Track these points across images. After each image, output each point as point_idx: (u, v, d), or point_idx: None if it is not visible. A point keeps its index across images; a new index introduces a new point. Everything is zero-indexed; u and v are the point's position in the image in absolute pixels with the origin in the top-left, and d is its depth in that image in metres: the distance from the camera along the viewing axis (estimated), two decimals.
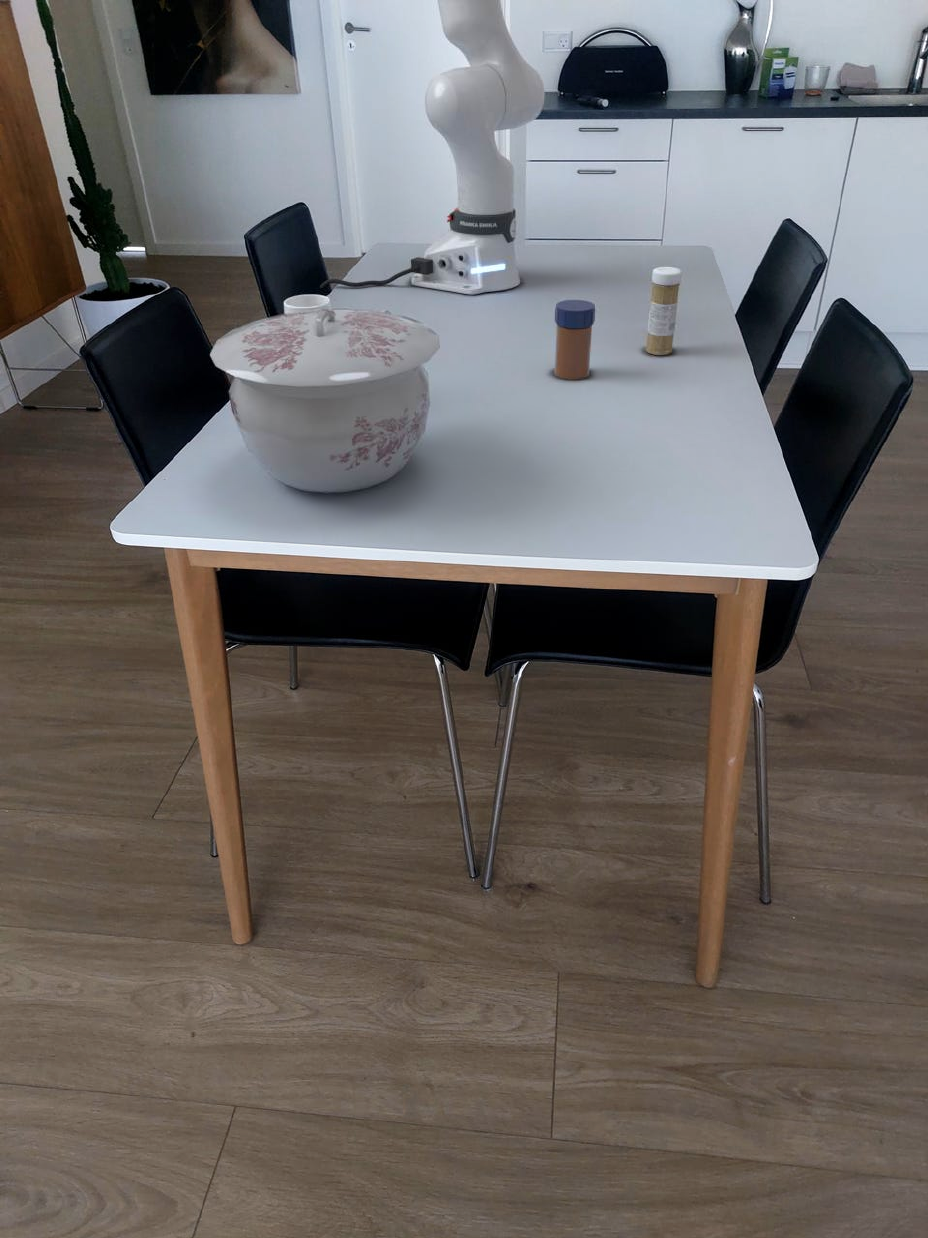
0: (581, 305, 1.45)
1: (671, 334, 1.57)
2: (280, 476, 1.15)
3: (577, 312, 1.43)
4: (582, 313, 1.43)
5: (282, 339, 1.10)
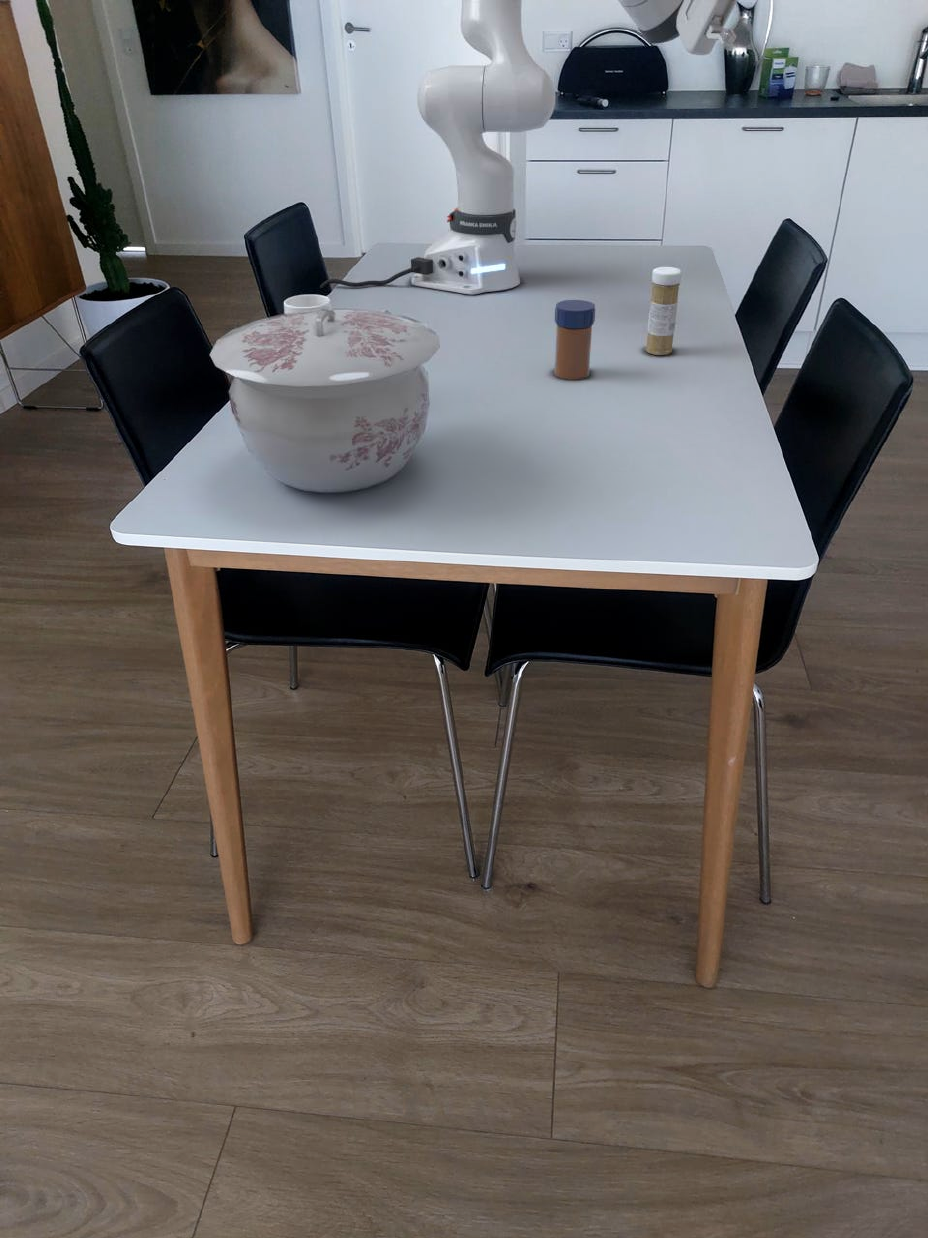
0: (581, 305, 1.45)
1: (671, 334, 1.57)
2: (280, 476, 1.15)
3: (577, 312, 1.43)
4: (582, 313, 1.43)
5: (282, 339, 1.10)
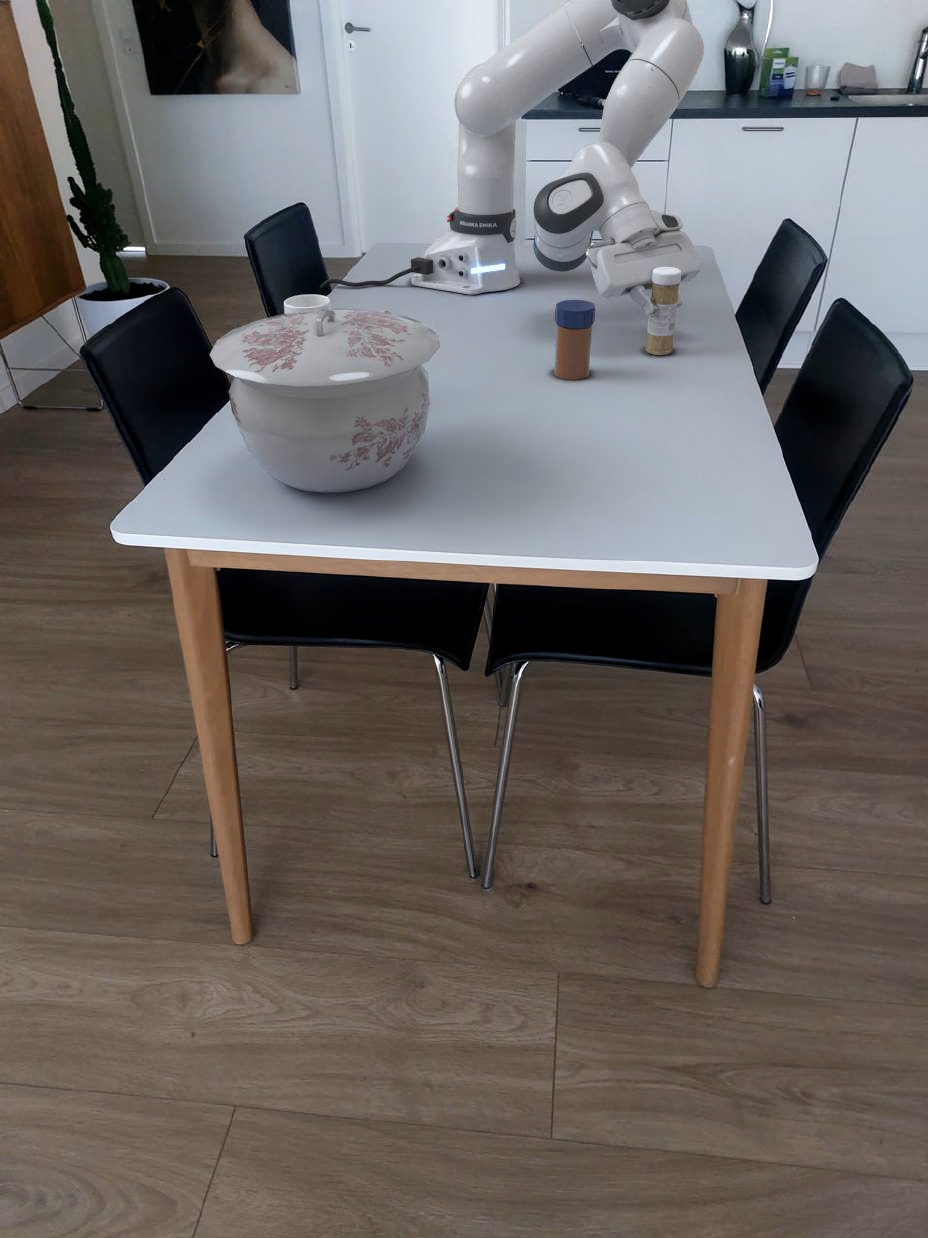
0: (581, 305, 1.45)
1: (671, 334, 1.57)
2: (280, 476, 1.15)
3: (577, 312, 1.43)
4: (582, 313, 1.43)
5: (282, 339, 1.10)
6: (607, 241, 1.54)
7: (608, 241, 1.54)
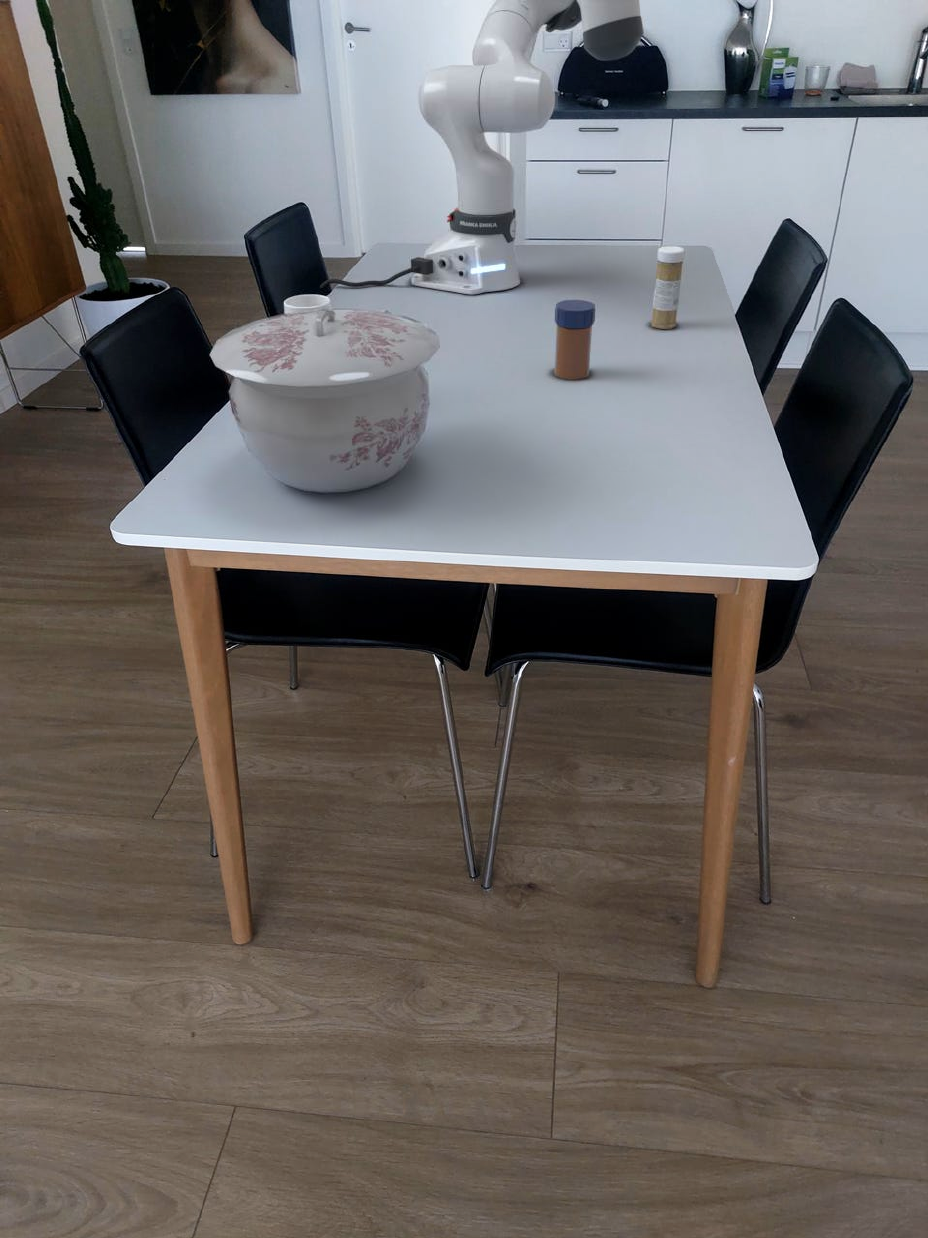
0: (581, 305, 1.45)
1: (675, 309, 1.68)
2: (280, 476, 1.15)
3: (577, 312, 1.43)
4: (582, 313, 1.43)
5: (282, 339, 1.10)
6: None
7: None
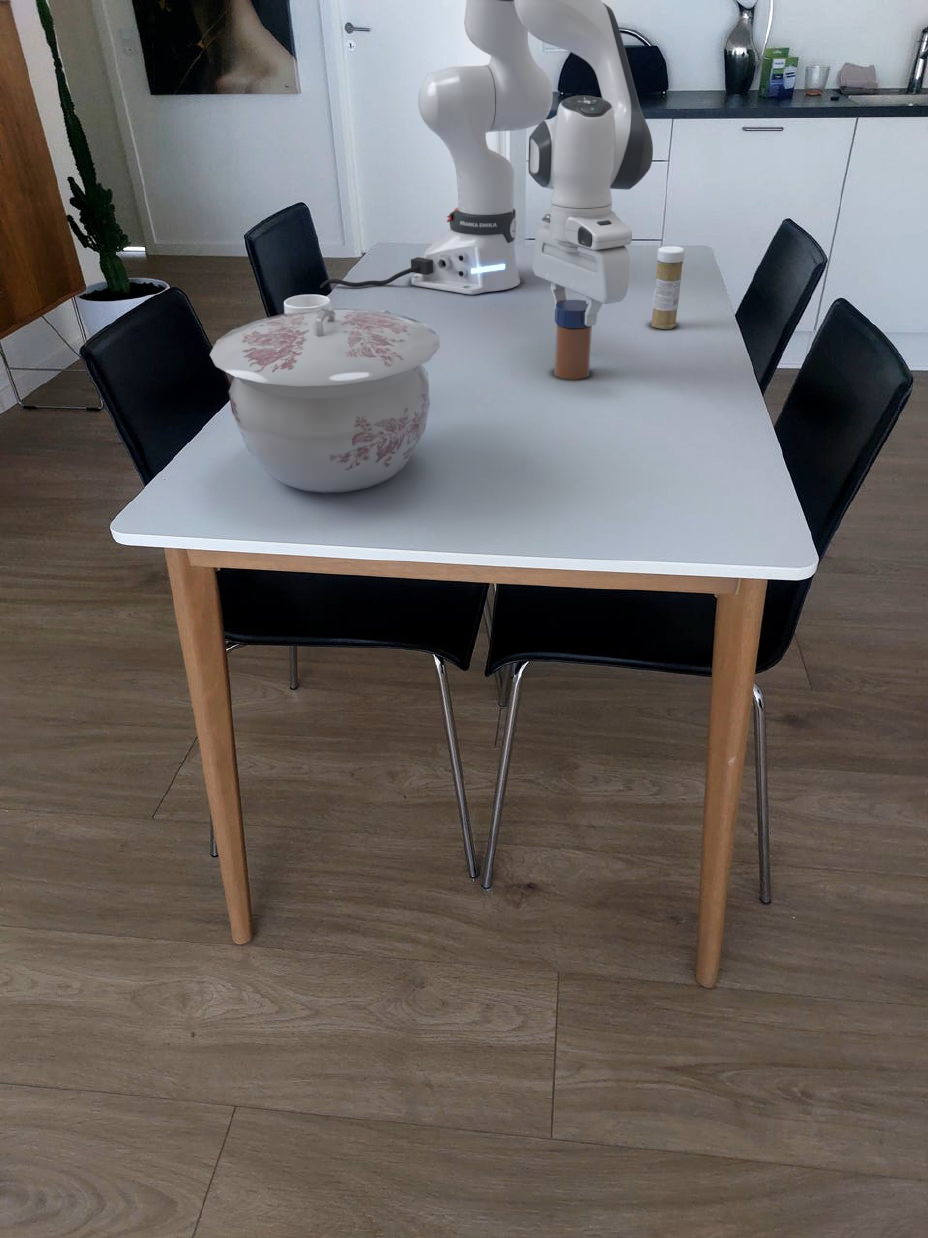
0: (581, 305, 1.45)
1: (675, 309, 1.68)
2: (280, 476, 1.15)
3: (577, 312, 1.43)
4: None
5: (282, 339, 1.10)
6: None
7: None
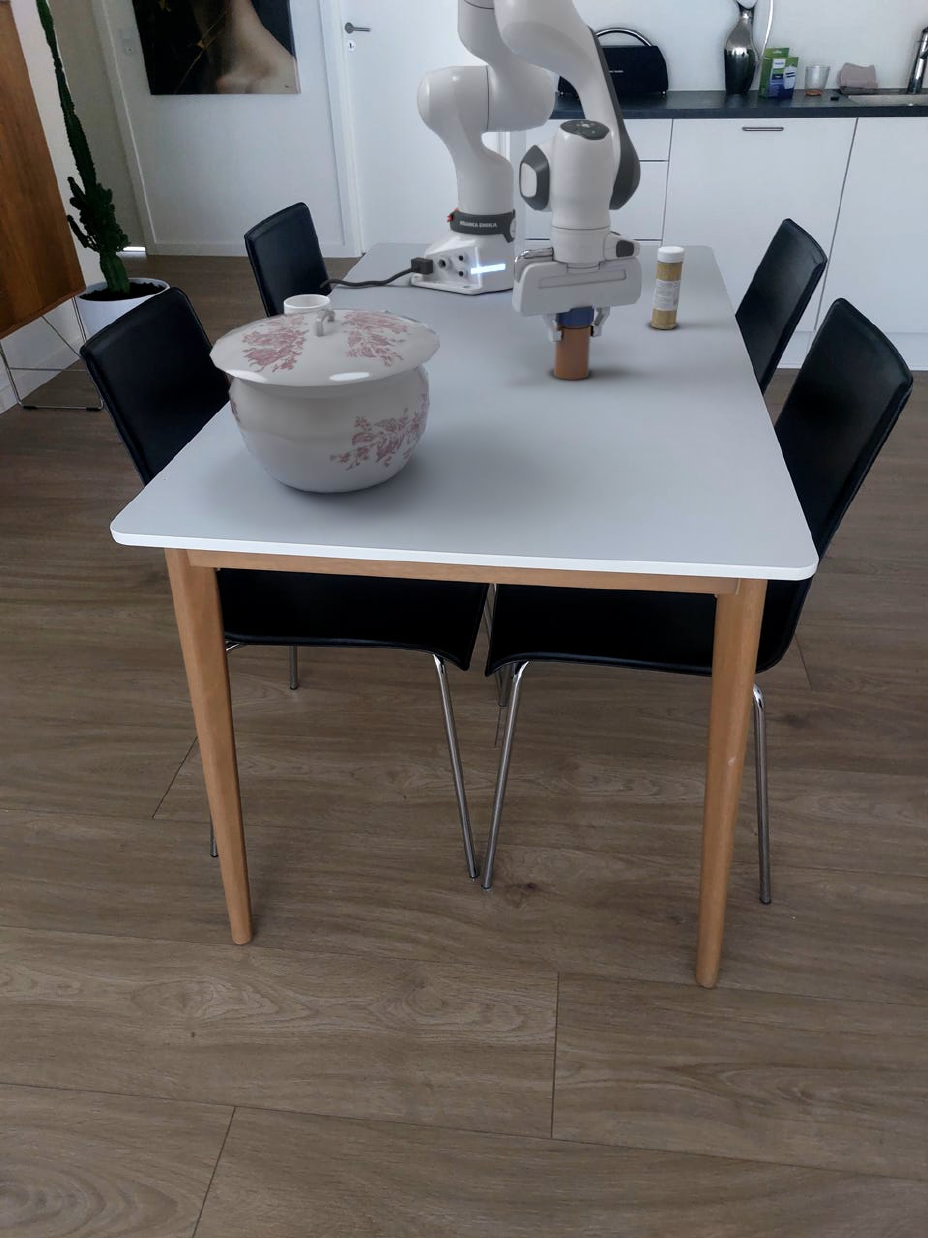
0: None
1: (675, 309, 1.68)
2: (280, 476, 1.15)
3: None
4: None
5: (282, 339, 1.10)
6: (544, 253, 1.38)
7: (545, 253, 1.39)
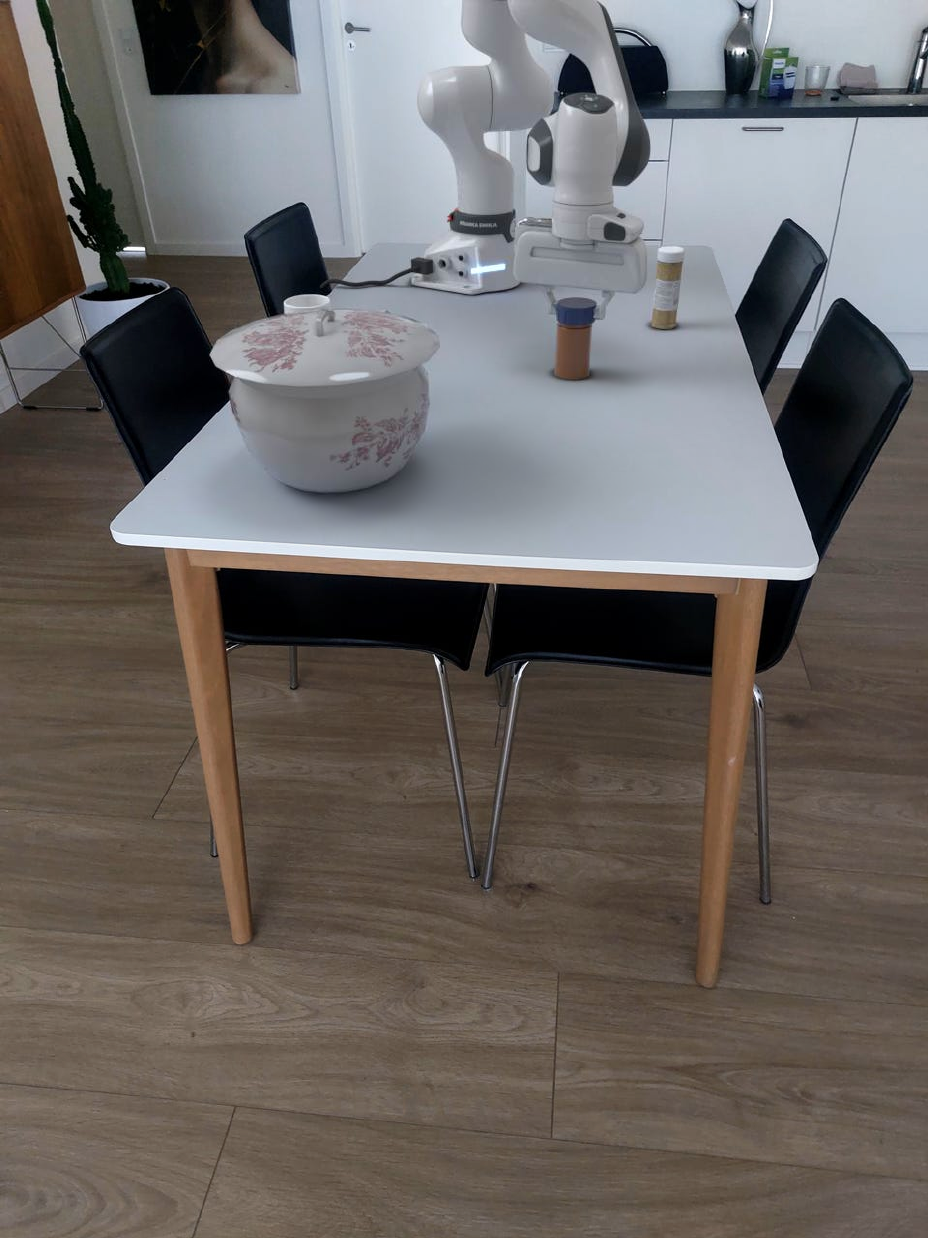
0: (577, 300, 1.46)
1: (675, 309, 1.68)
2: (280, 476, 1.15)
3: (593, 301, 1.46)
4: None
5: (282, 339, 1.10)
6: (543, 223, 1.41)
7: (544, 223, 1.40)
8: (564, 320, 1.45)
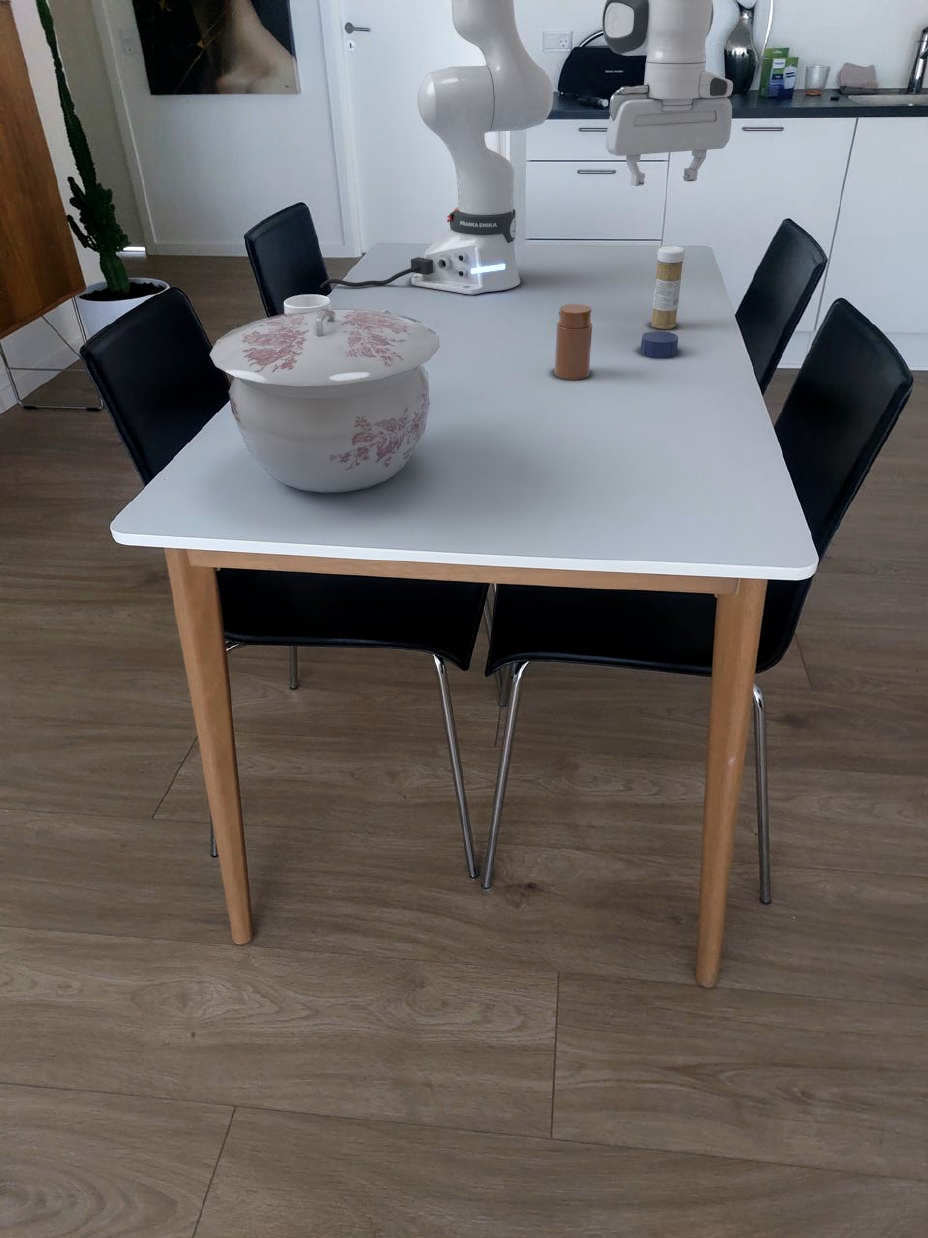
0: (656, 335, 1.59)
1: (675, 309, 1.68)
2: (280, 476, 1.15)
3: None
4: None
5: (282, 339, 1.10)
6: (640, 90, 1.42)
7: (641, 90, 1.42)
8: (662, 354, 1.57)
